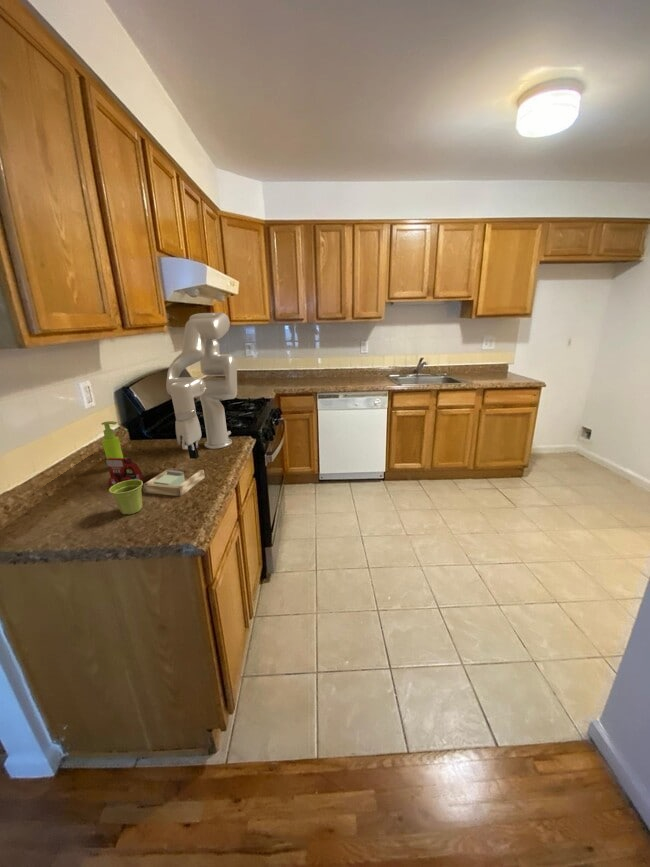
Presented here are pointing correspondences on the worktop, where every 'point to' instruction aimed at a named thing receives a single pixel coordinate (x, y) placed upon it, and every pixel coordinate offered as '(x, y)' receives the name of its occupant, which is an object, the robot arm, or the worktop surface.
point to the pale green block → (171, 478)
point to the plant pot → (128, 495)
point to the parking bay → (170, 489)
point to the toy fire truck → (123, 470)
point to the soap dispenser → (111, 442)
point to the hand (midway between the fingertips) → (194, 457)
